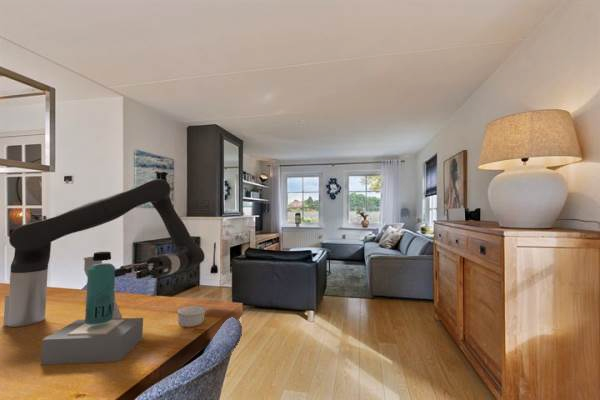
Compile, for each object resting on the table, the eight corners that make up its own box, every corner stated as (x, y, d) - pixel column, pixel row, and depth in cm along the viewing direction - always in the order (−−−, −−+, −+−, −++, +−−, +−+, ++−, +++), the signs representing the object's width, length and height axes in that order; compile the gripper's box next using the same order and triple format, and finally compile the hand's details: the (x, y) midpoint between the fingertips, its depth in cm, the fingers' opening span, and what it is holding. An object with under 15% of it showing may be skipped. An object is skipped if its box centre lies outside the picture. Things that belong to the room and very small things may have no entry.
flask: (108, 324, 93) (110, 294, 93) (90, 322, 94) (92, 292, 95) (126, 316, 100) (127, 288, 101) (109, 315, 101) (110, 287, 102)
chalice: (92, 303, 114) (95, 259, 115) (76, 303, 114) (78, 258, 115) (105, 298, 121) (107, 256, 122) (90, 297, 122) (92, 256, 122)
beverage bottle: (90, 332, 71) (94, 254, 72) (79, 327, 75) (83, 252, 76) (118, 324, 77) (121, 251, 78) (106, 319, 80) (109, 249, 82)
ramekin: (193, 316, 102) (193, 304, 102) (210, 321, 97) (210, 308, 97) (171, 324, 94) (171, 311, 94) (188, 330, 89) (189, 316, 90)
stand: (40, 364, 68) (42, 337, 68) (76, 340, 81) (78, 318, 81) (119, 361, 70) (120, 335, 70) (142, 338, 83) (143, 316, 83)
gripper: (147, 253, 102) (107, 260, 86) (181, 255, 99) (145, 263, 83) (146, 274, 102) (106, 285, 86) (180, 277, 98) (144, 288, 83)
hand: (125, 274), depth 85 cm, fingers open, 8 cm apart
